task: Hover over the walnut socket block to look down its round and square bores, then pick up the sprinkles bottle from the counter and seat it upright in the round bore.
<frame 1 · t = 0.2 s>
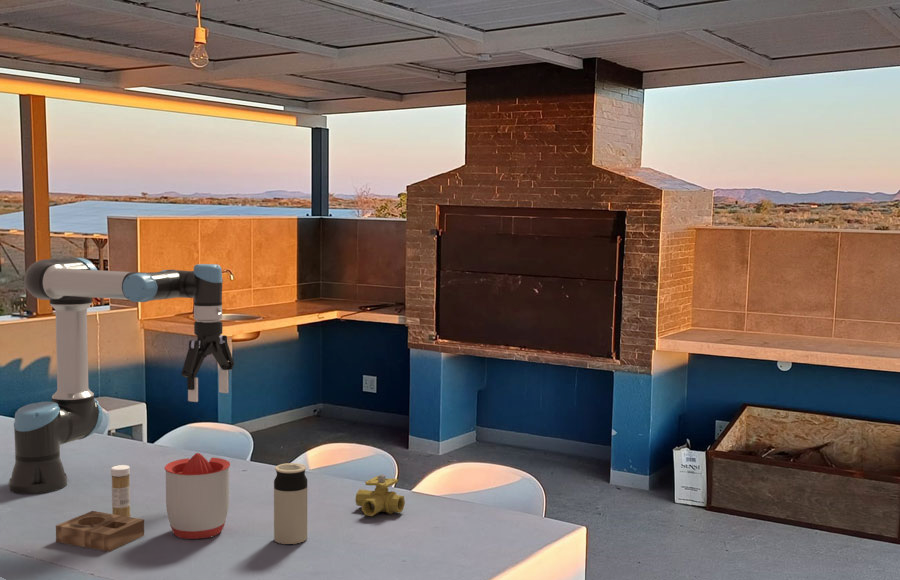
hand: (208, 397, 257), 28 cm above the table, tool pointing down, fingers open, 13 cm apart
travel mug: (290, 540, 226), on the table
socket block: (100, 538, 225), on the table
ball valve: (377, 513, 248), on the table
citrus juicer: (198, 531, 231), on the table
sprinkles bottle: (121, 518, 240), on the table
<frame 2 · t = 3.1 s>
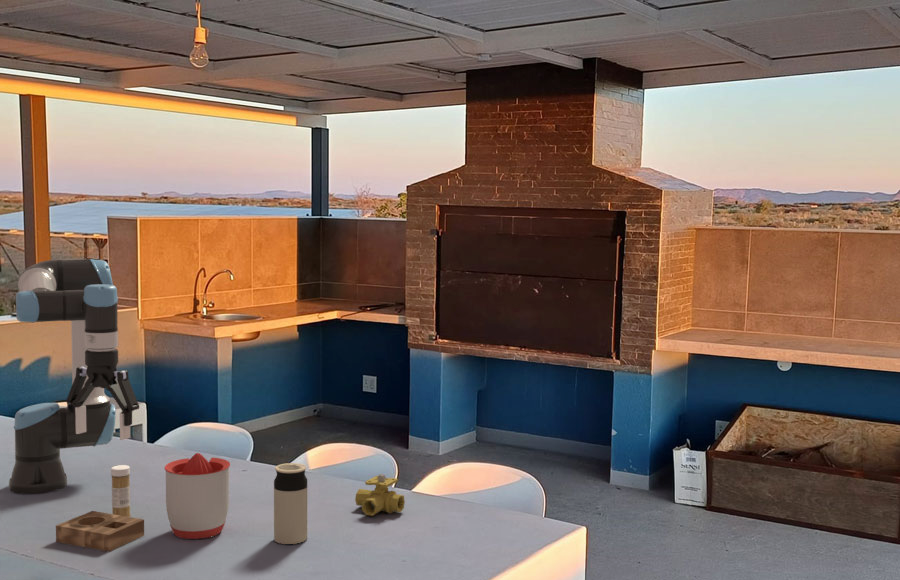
hand: (102, 435, 226), 25 cm above the table, tool pointing down, fingers open, 13 cm apart
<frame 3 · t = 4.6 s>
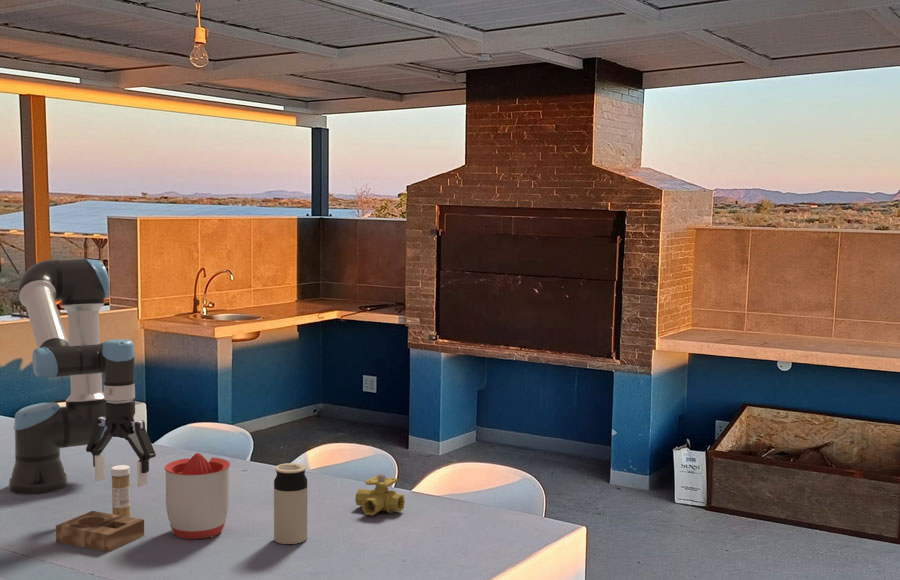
hand: (121, 482, 239), 9 cm above the table, tool pointing down, fingers open, 13 cm apart
nothing on the table moved.
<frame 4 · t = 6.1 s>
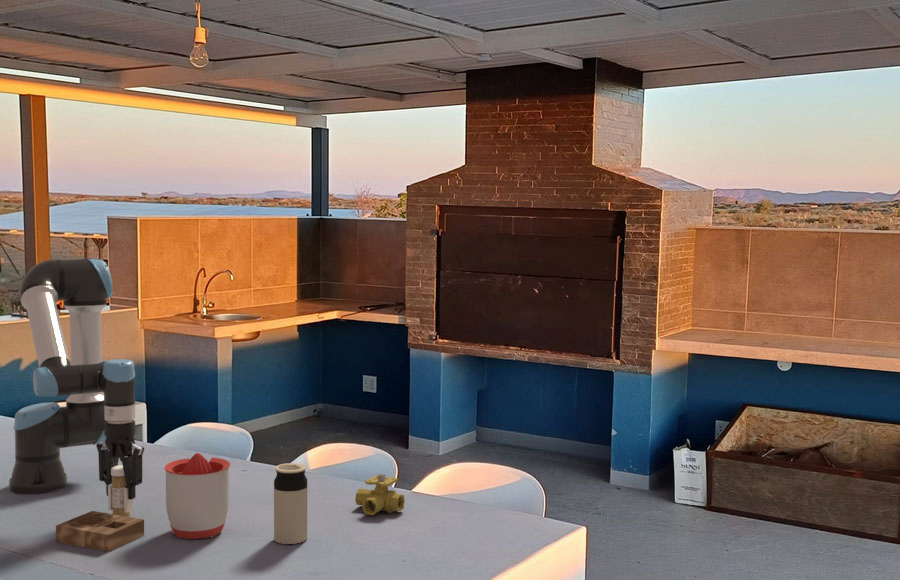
hand: (121, 509, 240), 2 cm above the table, tool pointing down, fingers closed on sprinkles bottle, 4 cm apart
sprinkles bottle: (121, 518, 240), on the table, touching gripper
everything else where it was.
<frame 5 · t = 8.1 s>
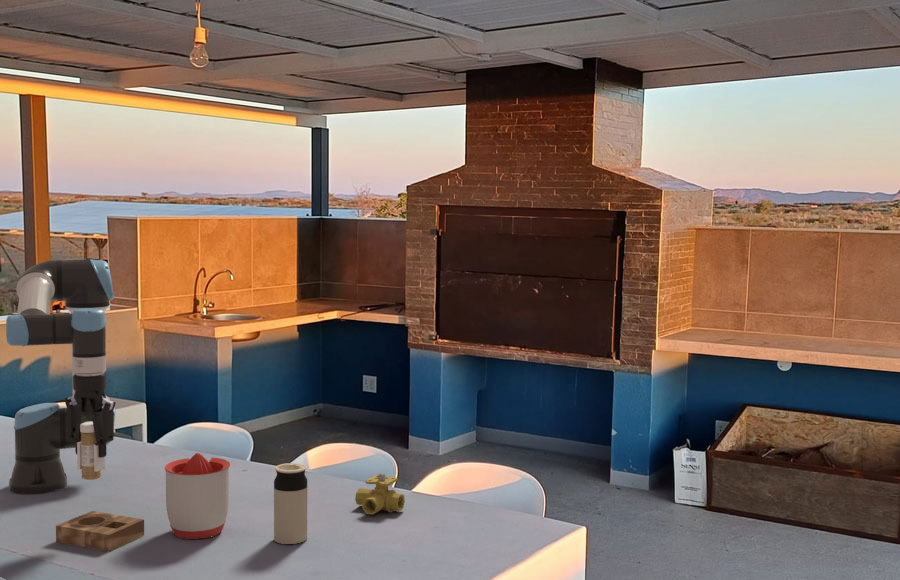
hand: (91, 468, 225), 17 cm above the table, tool pointing down, fingers closed on sprinkles bottle, 4 cm apart
sprinkles bottle: (91, 478, 225), point 14 cm above the table, touching gripper
when the fingers open (5 cm above the table, at t = 10.6 s): sprinkles bottle drops 2 cm, resting in socket block.
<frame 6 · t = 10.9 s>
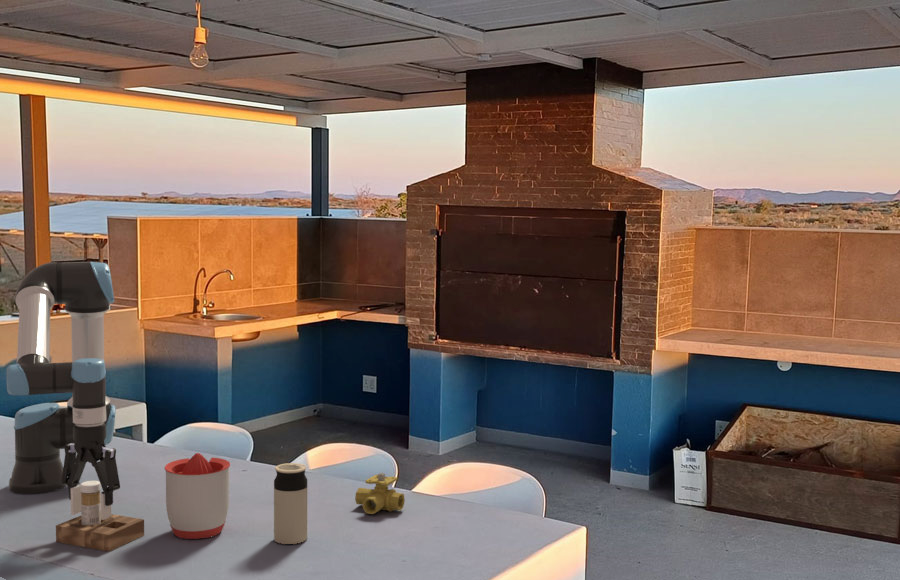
hand: (91, 515, 225), 5 cm above the table, tool pointing down, fingers open, 8 cm apart
sprinkles bottle: (91, 537, 226), resting in socket block
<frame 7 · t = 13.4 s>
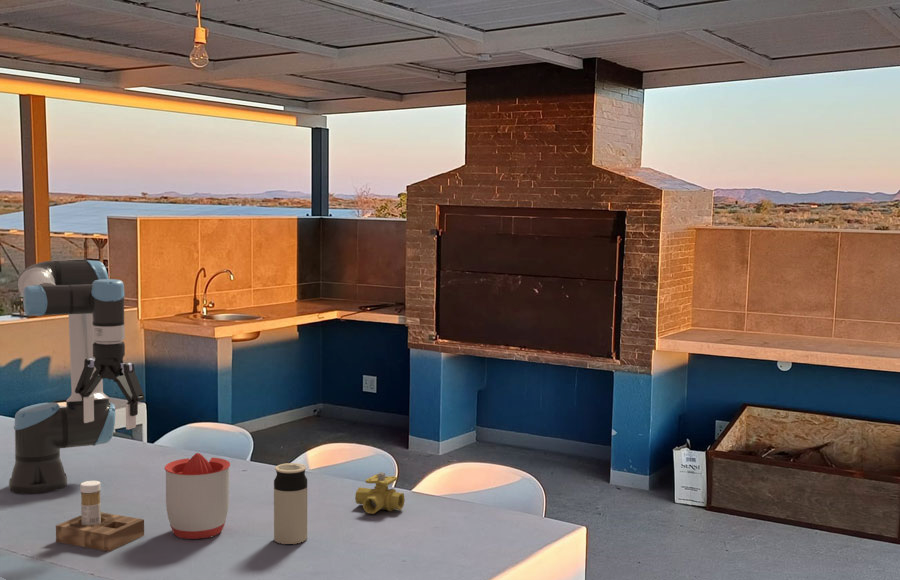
hand: (109, 425, 234), 25 cm above the table, tool pointing down, fingers open, 13 cm apart
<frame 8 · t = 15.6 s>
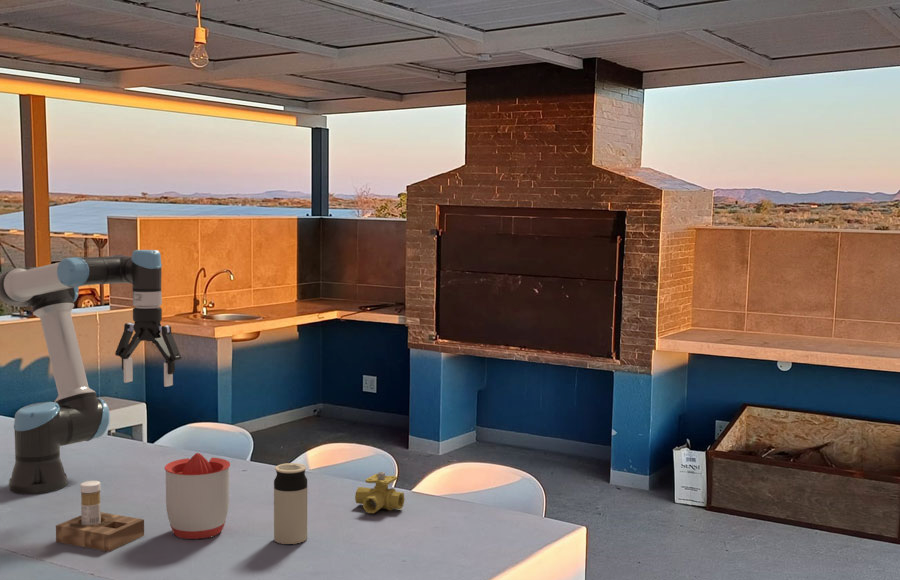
hand: (148, 384, 255), 32 cm above the table, tool pointing down, fingers open, 13 cm apart
at the end: sprinkles bottle 0.1 cm from the target spot in the socket block, point 0.0 cm above the socket block's base; sprinkles bottle tilted 0°; the gripper is holding nothing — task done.
